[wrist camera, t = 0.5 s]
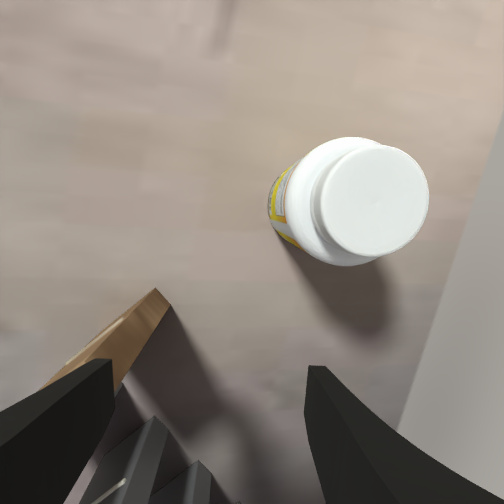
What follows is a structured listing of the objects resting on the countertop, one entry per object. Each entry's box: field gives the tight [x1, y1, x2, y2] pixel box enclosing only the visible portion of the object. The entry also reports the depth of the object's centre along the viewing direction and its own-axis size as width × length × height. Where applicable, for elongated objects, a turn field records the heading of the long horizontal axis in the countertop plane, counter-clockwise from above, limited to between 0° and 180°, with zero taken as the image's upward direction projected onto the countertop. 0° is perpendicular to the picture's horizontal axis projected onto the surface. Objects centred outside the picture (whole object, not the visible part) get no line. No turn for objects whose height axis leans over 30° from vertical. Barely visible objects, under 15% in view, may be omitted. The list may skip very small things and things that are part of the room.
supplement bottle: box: [268, 137, 429, 266], centre depth 15 cm, size 6×6×10 cm
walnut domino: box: [40, 288, 171, 392], centre depth 16 cm, size 2×5×10 cm, turn 128°
